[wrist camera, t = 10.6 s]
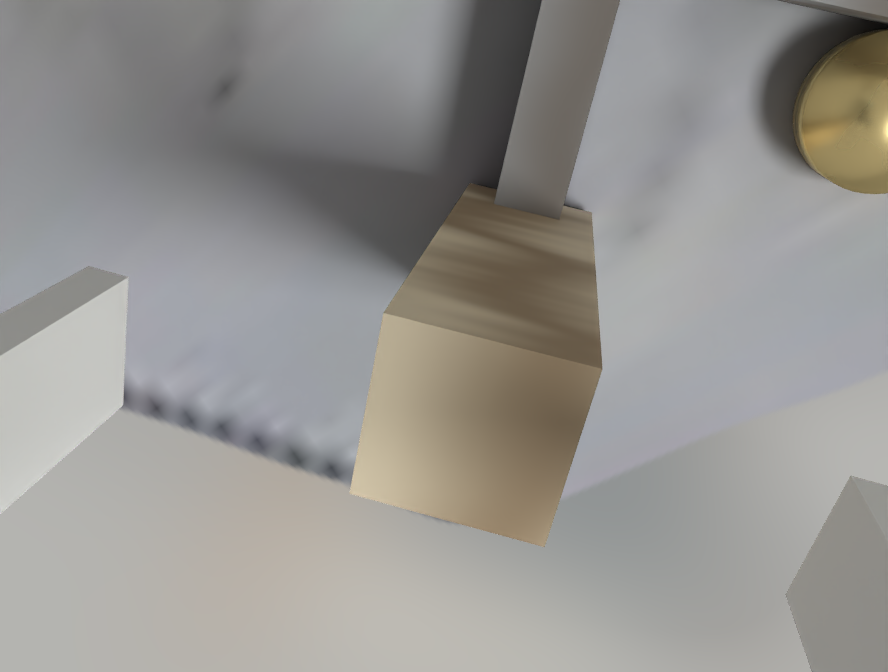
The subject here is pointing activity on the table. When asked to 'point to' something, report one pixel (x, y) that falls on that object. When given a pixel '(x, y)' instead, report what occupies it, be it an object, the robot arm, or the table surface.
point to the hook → (505, 313)
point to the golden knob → (847, 114)
